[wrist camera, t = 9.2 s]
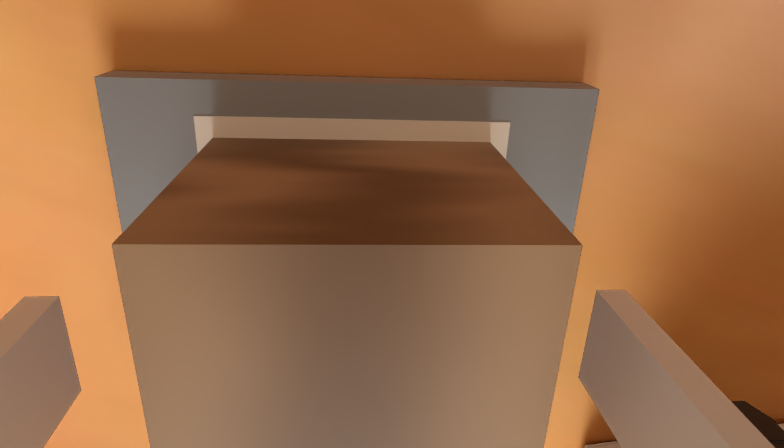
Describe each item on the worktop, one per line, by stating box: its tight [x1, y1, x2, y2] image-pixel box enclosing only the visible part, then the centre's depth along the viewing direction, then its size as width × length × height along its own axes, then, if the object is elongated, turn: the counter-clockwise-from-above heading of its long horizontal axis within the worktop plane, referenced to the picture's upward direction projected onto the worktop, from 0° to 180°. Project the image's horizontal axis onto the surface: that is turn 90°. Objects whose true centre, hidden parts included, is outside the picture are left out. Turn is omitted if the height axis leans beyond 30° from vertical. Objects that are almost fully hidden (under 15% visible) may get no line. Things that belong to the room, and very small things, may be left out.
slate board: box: [95, 71, 599, 234], centre depth 18 cm, size 14×11×1 cm
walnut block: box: [112, 138, 582, 448], centre depth 14 cm, size 8×8×7 cm
